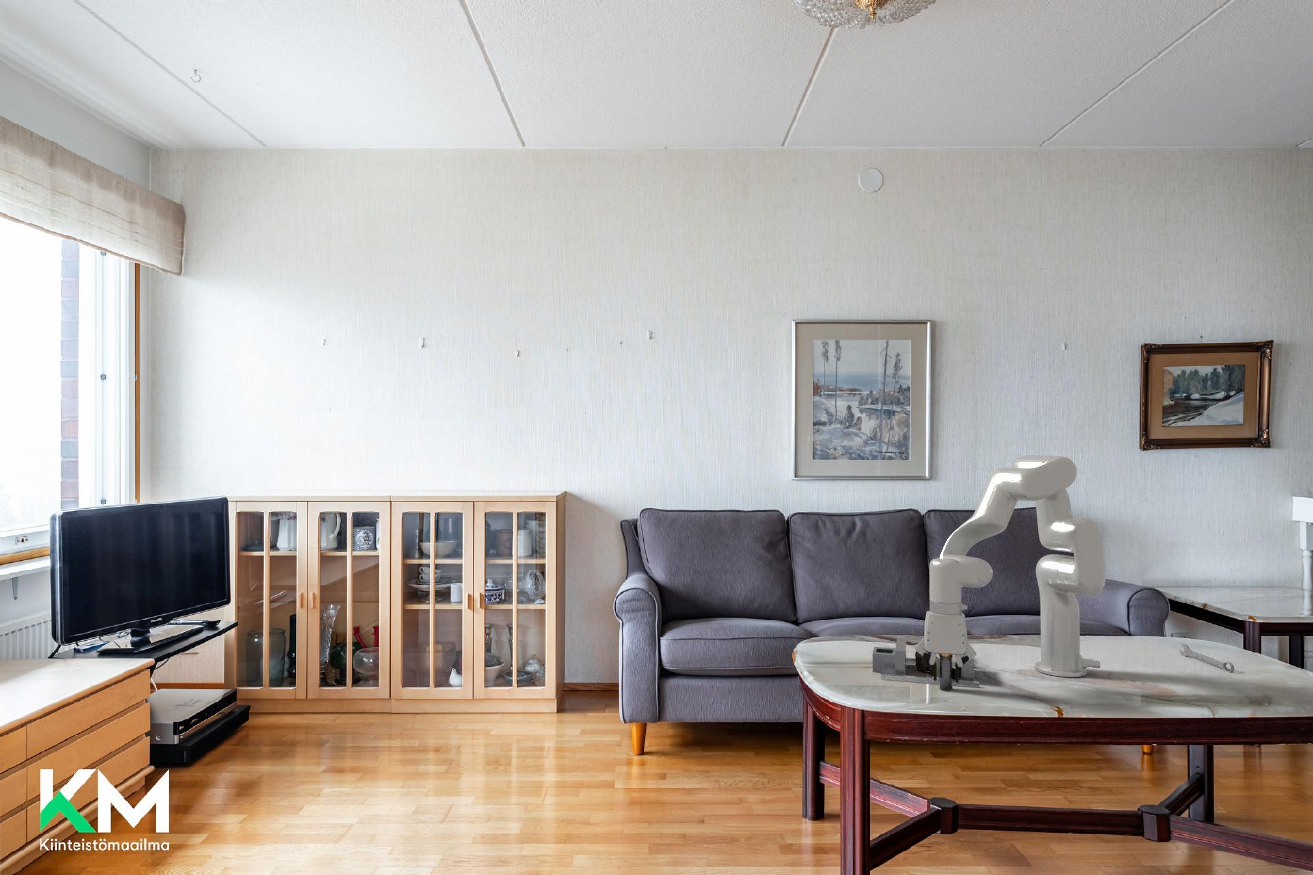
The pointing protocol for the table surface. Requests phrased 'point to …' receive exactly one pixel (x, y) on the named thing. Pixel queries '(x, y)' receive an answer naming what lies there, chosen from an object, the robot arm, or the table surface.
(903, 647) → the tailstock
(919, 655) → the brown wood log
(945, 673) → the grey cylinder orange cap
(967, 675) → the block
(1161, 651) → the table surface
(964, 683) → the grey flat plate
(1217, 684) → the table surface
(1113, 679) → the table surface
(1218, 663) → the combination wrench
